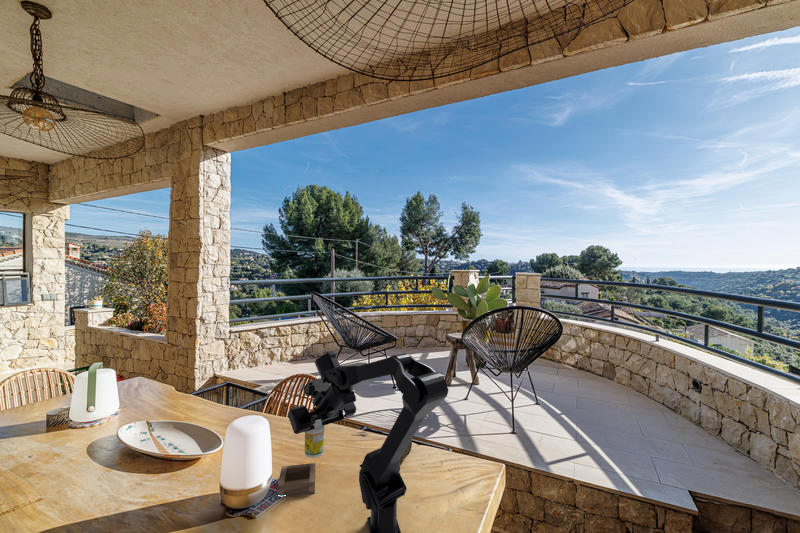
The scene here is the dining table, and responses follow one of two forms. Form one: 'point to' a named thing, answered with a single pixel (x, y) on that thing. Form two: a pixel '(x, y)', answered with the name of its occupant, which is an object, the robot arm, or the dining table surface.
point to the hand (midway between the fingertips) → (312, 427)
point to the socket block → (297, 480)
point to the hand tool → (406, 452)
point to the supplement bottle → (315, 440)
